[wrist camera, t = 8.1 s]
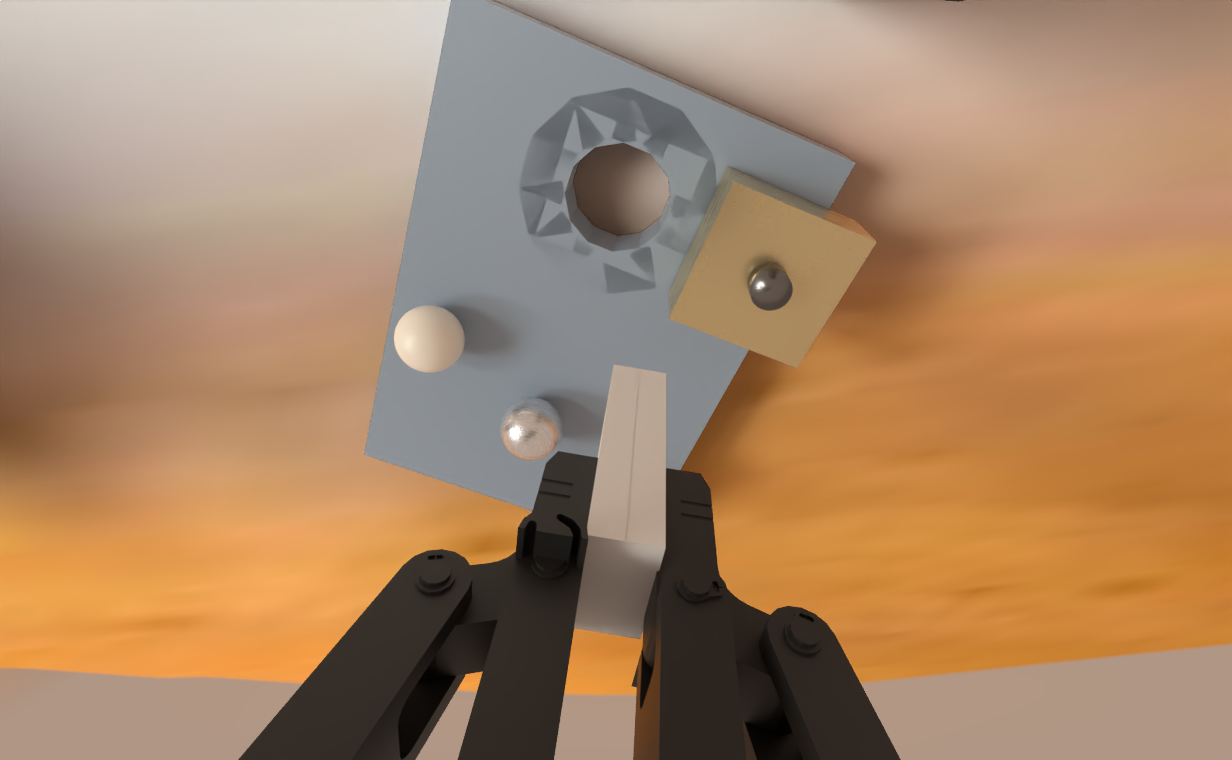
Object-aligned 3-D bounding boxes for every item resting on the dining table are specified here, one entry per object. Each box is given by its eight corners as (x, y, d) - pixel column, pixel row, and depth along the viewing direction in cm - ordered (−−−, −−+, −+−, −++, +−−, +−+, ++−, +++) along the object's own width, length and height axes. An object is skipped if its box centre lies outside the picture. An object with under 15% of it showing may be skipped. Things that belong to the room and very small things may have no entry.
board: (382, 429, 36) (364, 454, 34) (472, -9, 24) (453, -13, 22) (638, 517, 38) (636, 546, 36) (840, 152, 26) (855, 163, 24)
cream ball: (404, 340, 30) (377, 370, 27) (415, 285, 28) (388, 311, 25) (465, 361, 30) (444, 394, 27) (479, 308, 29) (459, 337, 26)
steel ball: (502, 424, 32) (486, 460, 29) (517, 377, 30) (502, 411, 28) (557, 443, 32) (546, 481, 30) (575, 398, 31) (566, 434, 28)
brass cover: (669, 292, 27) (668, 329, 24) (726, 166, 24) (736, 187, 21) (785, 337, 28) (801, 380, 24) (855, 220, 25) (885, 250, 21)
